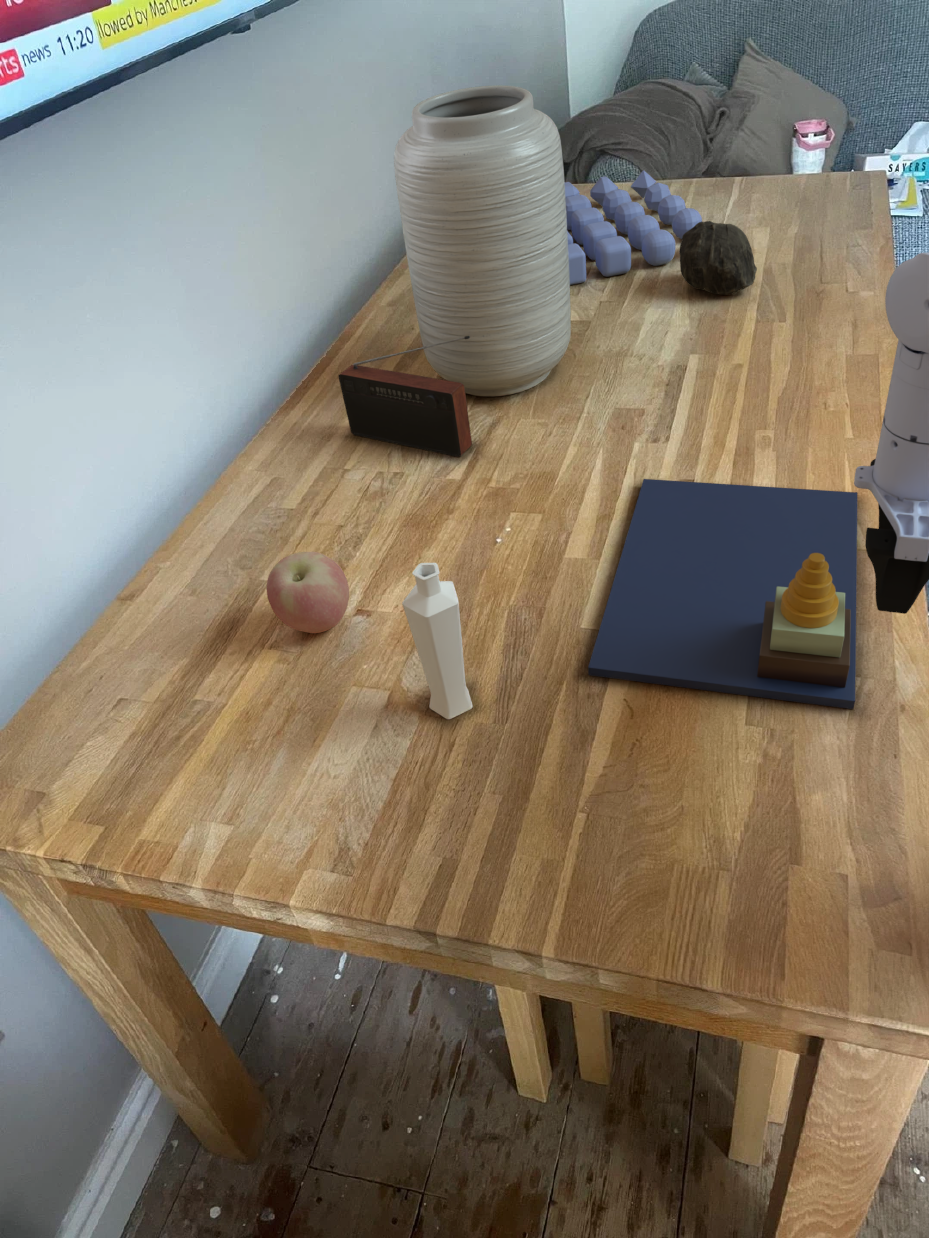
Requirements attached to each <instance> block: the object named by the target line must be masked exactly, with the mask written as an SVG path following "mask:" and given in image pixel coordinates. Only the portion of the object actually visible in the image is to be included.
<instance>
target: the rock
mask: <svg viewBox="0 0 929 1238" xmlns="http://www.w3.org/2000/svg"><path fill="white" fill-rule="evenodd" d="M678 252H679V266H680V274H681V277H682V278H683V280H684V281H685V282H686V283H687V284H688V285H689V286H690V287H691V288H693V289H697V290H704V291H705V292H709V293H711V294H714V295H723V296H730V295H733V294H735V293H737V292H739V291H741V290H744V289H746V288H749V287H751V286H753V284H754V283H755V279H756V274H757V270H758V268H757V266H756V264H755V257H754V253H753V249H752V246H751V243H750V241H749V238H748V236H747V234H745V232H744V231H743V230H742V229H741V228H739V227H738V226H736V225H734V224H732V223H722V222H713V221H711V220H707V221H702V222H699V223H697V224H696V225H695V226H694V227H693V228H692V229H690V230H689V231H687V232H686V233H685V234H684V235H683V237H682V239H681V242H680V246H679V250H678Z"/></svg>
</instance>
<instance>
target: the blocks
mask: <svg viewBox="0 0 929 1238" xmlns="http://www.w3.org/2000/svg"><path fill="white" fill-rule="evenodd" d="M564 183H565V199H566V216H567V236H568V256H569V279H570V286H573V285H578V284H583V283H584V282H586V281H587V261H586V260H587V258H586V256H587V257H588V258H589V260H592V261H595V267H596V268H597V270H598V271H599V273H600V274H601V275H602V276H604V277H608V278H609V277H614V276H619V275H624V274H627V273H628V272H630V270H631V268H632V247H633V248H634V249H636V250H641V255H642V257H643V259H644V261H646V263H647V264H648V265H651V266H656V267H657V266H658V267H659V266H663V265H666V264H668V263H670V262H671V261H672V260H673V258H674V257H675V254H676V240H675V238H674V236H673V234H674V235H675V237H676V238H678V239H680V240H682V237H683V235H684V234H685V233H686V232H687V231H689V230H690V229H692V228H693V227H694V226H695V225H696V224H697V223H699V222H703V219H702V215H701V213H700V212H699V211H698V210H697V209H695V208H691V207H687V205H686V202H685V200H684V198H682V197H681V196H680V195H676V194H672V192H671V191H670V187H669V185H668V184H666V183H661V182H657V181H656V180H655V179H654V178H653V177H652V176H651V175H650V174H649V173H648V172H646V170H644V169H643V170H642V171H641V172H640V174H639V175H638V176H637V178H636V179H635V180H634V181H633V182H632V184H631V185H630V188H631V189H632V190H633V191H634V192H636V193H637V194H638V195H639V196H640V197H641V198H642V199H643V201H644V203H645V206H646V208H647V210H649V211H652V212H657V214H658V219H659V221H660V222H662V223H663V224H664V225H669V226H672V231H673V234H671V232H669V231H668V230H665V229H660V224H659V222H658V220H657V219H656V218H655V216H654V217H653V216H652V215H650V214H646V211H645V209H644V207H643V206H642V205H641V204H640V203H639V202H637V201H632V198H631V196H630V193H629V192H628V191H627V190H624V189H620V188H619V187H618V185H617V184H615V183H614V182H613V181H612V180H611V179H610V178H609V177H607V176H606V175H604V176H600V177H599V178H598V180H597V181H596V182H595V184H594V185H593V186H592V188H591V189H590V191H589V195H590V197H591V198H592V199H593V200H594V201H595V203H597V204H598V205H600V206H601V207H602V211H603V213H602V212H601V211H600V210H599V209H598V208H597V207H592V202H591V200H590V199H589V198H588V197H587V196H586V195H584V194H581V193H580V190H579V189H578V188H577V187H576V186H575V185H574V184H572V183H571V182H570V181H564ZM603 214H604V215H603ZM604 216H605V218H606V219H607V220H611V221H614V225H615V226H614V225H613V224H611V222H609V221H607V220H605V219H604ZM569 231H571V234H570V232H569ZM617 231H618V232H619V233H621V234H622V235H627V238H628V241H627V240H626V238H624V237H623V236H621V235H618V232H617ZM574 241H575V242H576V243H574ZM580 245H581V246H582V247H583V249H582V247H581V246H580ZM631 246H632V247H631Z"/></svg>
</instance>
